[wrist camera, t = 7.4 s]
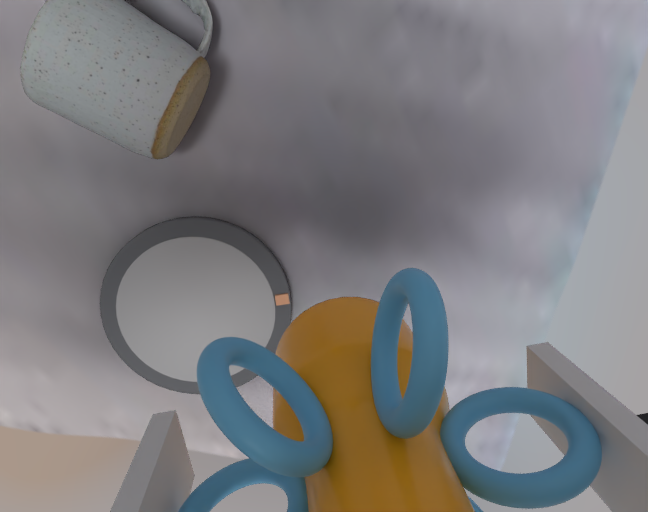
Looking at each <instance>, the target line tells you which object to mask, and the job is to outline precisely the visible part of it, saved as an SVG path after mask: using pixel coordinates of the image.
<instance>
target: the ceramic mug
mask: <svg viewBox="0 0 648 512" xmlns="http://www.w3.org/2000/svg"><path fill="white" fill-rule="evenodd" d="M125 1H126V0H47V1H46V2H45V4H44V5H43V7H42V8H41V10H40V11H39V13H38V15H37V17H36V19H35V21H34V23H33V24H32V27H31V29H30V31H29V34H28V36H27V41H26V44H25V48H24V51H23V55H22V61H21V67H20V69H21V80H22V85H23V88H24V91H25V93H26V95H27V96H28V97H29V98H30V99H31V100H32V101H33V102H35V103H36V104H38V105H40V106H42V107H44V108H46V109H48V110H51V111H53V112H55V113H57V114H59V115H61V116H63V117H65V118H67V119H69V120H71V121H72V122H74V123H76V124H78V125H80V126H82V127H84V128H86V129H88V130H90V131H93V132H95V133H97V134H99V135H101V136H103V137H106V138H108V139H109V140H111V141H113V142H115V143H117V144H119V145H121V146H122V147H124V148H126V149H128V150H130V151H133V152H135V153H138V154H141V155H144V156H147V157H150V158H153V159H162V158H165V157H168V156H169V155H170V154H172V153H173V152H174V150H175V149H176V148H177V146H178V145H179V144H180V142H181V141H182V139H183V137H184V136H185V134H186V132H187V131H188V129H189V127H190V125H191V124H192V122H193V120H194V118H195V116H196V114H197V112H198V110H199V107H200V105H201V103H202V100H203V98H204V96H205V93H206V90H207V87H208V84H209V80H210V68H209V65H208V62H207V61H206V60H205V59H204V57H205V56H206V55H207V52H208V49H209V46H210V42H211V38H212V30H213V20H212V15H211V11H210V8H209V6H208V4H207V1H206V0H182V1H183V2H184V3H186V4H187V5H188V6H189V7H190V8H191V9H192V11H193V13H195V14H197V15H199V16H201V18H202V20H203V22H204V28H205V33H204V36H203V39H202V42H201V43H200V45H199V48H198V49H197V50H195V49H194V48H193V47H192V46H191V45H189V44H188V43H187V42H185V41H184V40H183V39H181V38H179V37H178V36H176V35H175V34H173V33H171V32H170V31H168V30H167V29H165V28H163V27H162V26H160V25H159V24H157V23H155V22H154V21H153V20H151V19H150V18H148V17H147V16H146V15H144V14H143V13H141V12H140V11H139V10H137V9H136V8H134V7H133V6H131V5H130V4H128V3H127V2H125Z"/></svg>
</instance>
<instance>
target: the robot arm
mask: <svg viewBox="0 0 648 512" xmlns="http://www.w3.org/2000/svg"><path fill="white" fill-rule="evenodd" d="M527 387H528V389H534V390H539V391H542V392H546V393H549V394H552V395H554V396H557V397H559V398H561V399H563V400H565V401H566V402H568V403H570V404H571V405H573V406H574V407H576V408H577V409H578V410H579V411H580V412H582V413H583V414H584V415H585V416H586V418H587V419H588V420H589V421H590V422H591V424H592V425H593V427H594V428H595V430H596V432H597V434H598V436H599V439H600V443H601V448H602V461H601V466H600V469H599V472H598V474H597V476H596V477H595V479H594V481H593V482H592V483H591V484H590V486H591V487H592V488H593V490H594V491H595V492H596V493H597V494H598V495H599V497H600V498H601V499H602V500H603V501H604V503H605V504H606V505H607V506H608V507H609V508H610V510H611V511H612V512H648V413H646V414H640V415H635V414H634V413H633V412H632V411H630V410H629V409H628V408H627V407H626V406H624V405H623V404H622V403H621V402H620V401H618V400H617V399H616V398H615V397H613V396H612V395H611V394H610V393H609V392H607V391H606V390H605V389H604V388H603V387H601V386H600V385H599V384H598V383H597V382H595V381H594V380H593V379H592V378H591V377H589V376H588V375H587V374H586V373H584V372H583V371H582V370H581V369H580V368H578V367H577V366H576V365H575V364H574V363H572V362H571V361H570V360H569V359H568V358H566V357H565V356H564V355H563V354H561V353H560V352H559V351H558V350H557V349H555V348H554V347H553V346H551V344H549V343H548V342H546V343H541V344H535V345H530V346H527ZM531 417H532V418H533V419H534V420H535V421H536V422H537V424H538V425H539V426H540V427H541V428H542V429H543V431H544V432H545V433H546V434H547V435H548V437H549V438H550V439H551V440H552V441H553V442H554V444H555V445H556V446H557V447H558V448H559V450H560V451H561V452H562V453H563V454H564V455H566V453H567V450H568V441H567V438H566V436H565V435H564V433H563V432H562V431H561V430H560V429H559V428H558V427H557V426H555V425H554V424H552V423H551V422H549V421H547V420H545V419H543V418H540V417H537V416H534V415H531ZM193 480H194V472H193V469H192V465H191V462H190V458H189V455H188V451H187V448H186V444H185V441H184V437H183V434H182V430H181V427H180V424H179V420H178V417H177V413H176V410H174V411H168V412H163V413H157V414H153V415H152V418H151V420H150V422H149V424H148V427H147V429H146V431H145V434H144V436H143V438H142V440H141V443H140V445H139V447H138V450H137V452H136V454H135V456H134V459H133V461H132V463H131V465H130V468H129V470H128V472H127V474H126V477H125V479H124V481H123V484H122V486H121V488H120V490H119V493H118V495H117V497H116V499H115V502H114V504H113V506H112V508H111V511H110V512H178V511H179V509H180V508H181V506H182V505H183V503H184V502H185V500H186V499H187V498H188V497H189V496H190V492H191V488H192V484H193Z"/></svg>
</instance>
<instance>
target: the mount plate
mask: <svg viewBox="0 0 648 512" xmlns="http://www.w3.org/2000/svg"><path fill="white" fill-rule="evenodd" d="M100 311H101V318H102V323H103V327H104V330H105V332H106V335H107V337H108V339H109V341H110V343H111V345H112V347H113V348H114V350H115V351H116V352H117V354H118V355H119V357H120V358H121V359H122V360H123V361H124V362H125V363H126V364H127V365H128V366H129V367H130V368H131V369H132V370H134V371H135V372H136V373H137V374H139V375H140V376H142V377H143V378H145V379H146V380H148V381H150V382H152V383H154V384H156V385H158V386H161V387H164V388H166V389H169V390H173V391H177V392H182V393H190V394H200V391H199V387H198V383H197V364H198V360H199V357H200V355H201V353H202V351H203V350H204V349H205V347H206V346H207V345H209V344H210V343H211V342H213V341H215V340H217V339H219V338H223V337H238V338H243V339H247V340H250V341H252V342H255V343H257V344H259V345H261V346H263V347H265V348H266V349H268V350H270V351H271V352H273V353H274V354H276V349H277V346H278V344H279V341H280V339H281V337H282V335H283V333H284V332H285V330H286V329H287V328H288V326H289V325H290V321H291V296H290V290H289V285H288V281H287V279H286V276H285V273H284V271H283V269H282V267H281V265H280V264H279V262H278V260H277V259H276V257H275V256H274V255H273V253H272V252H271V251H270V250H269V249H268V248H267V247H266V246H265V245H264V244H263V243H262V242H261V241H260V240H259V239H257V238H256V237H255V236H254V235H252V234H251V233H249V232H247V231H246V230H244V229H242V228H240V227H238V226H236V225H234V224H231V223H229V222H225V221H222V220H219V219H213V218H207V217H182V218H176V219H172V220H167V221H165V222H162V223H159V224H156V225H154V226H152V227H150V228H148V229H146V230H145V231H143V232H142V233H140V234H139V235H138V236H136V237H135V238H133V239H132V240H131V241H129V242H128V243H127V244H126V245H125V246H124V247H123V248H122V249H121V250H120V251H119V253H118V254H117V255H116V256H115V258H114V259H113V261H112V262H111V264H110V266H109V268H108V270H107V272H106V275H105V277H104V280H103V284H102V288H101V295H100ZM229 371H230V375H231V378H232V381H233V383H234V385H235V387H238V386H240V385H242V384H245V383H247V382H249V381H250V380H252V379H253V378H255V377H256V376H258V375H257V374H255V373H254V372H252V371H250V370H248V369H246V368H243V367H240V366H235V365H230V366H229Z"/></svg>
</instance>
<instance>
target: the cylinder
mask: <svg viewBox="0 0 648 512" xmlns="http://www.w3.org/2000/svg"><path fill="white" fill-rule="evenodd" d="M408 303H409V305H410V310H411V316H412V326H413V332H412V331H411V329H410V328H409V326H408V325H407V324H406V322H405V321H404V320H403V316H404V313H405V310H406V308H407V305H408ZM447 364H448V325H447V317H446V312H445V307H444V303H443V299H442V296H441V294H440V291H439V289H438V287H437V285H436V283H435V282H434V280H433V279H432V278H431V277H430V276H429V275H428V274H427V273H425V272H424V271H422V270H420V269H416V268H407V269H404V270H401V271H399V272H398V273H397V274H395V275H394V276H393V277H392V279H391V280H390V281H389V283H388V284H387V286H386V288H385V290H384V292H383V295H382V297H381V300H380V303H379V302H377V301H374V300H371V299H366V298H361V297H340V298H334V299H329V300H326V301H324V302H321V303H318V304H315V305H314V306H312V307H311V308H309V309H307V310H306V311H304V312H303V313H302V314H300V315H299V316H298V317H297V318H296V319H295V320H294V321H293V322H292V323H291V324H290V325H289V326H288V328H287V329H286V330H285V332H284V333H283V335H282V337H281V339H280V341H279V344H278V346H277V349H276V354H274V353H273V352H271V351H270V350H268V349H266V348H265V347H263V346H261V345H259V344H257V343H255V342H252V341H250V340H247V339H243V338H238V337H223V338H219V339H217V340H215V341H213V342H211V343H210V344H209V345H207V346H206V347H205V349H204V350H203V351H202V353H201V355H200V357H199V360H198V364H197V383H198V387H199V391H200V394H201V397H202V400H203V402H204V404H205V406H206V408H207V410H208V412H209V414H210V415H211V417H212V419H213V420H214V422H215V423H216V424H217V426H218V427H219V429H220V430H221V431H222V432H223V433H224V435H225V436H226V437H227V438H228V439H229V440H230V441H231V442H232V443H233V444H234V445H235V446H236V447H237V448H238V449H239V450H240V451H241V452H242V453H244V454H245V455H246V456H247V457H249V459H245V460H242V461H239V462H236V463H233V464H231V465H229V466H227V467H225V468H223V469H221V470H219V471H218V472H216V473H215V474H213V475H212V476H210V477H209V478H208V479H206V480H205V481H204V482H203V483H202V484H201V485H199V486H198V487H197V488H196V489H195V490H194V491H193V492H192V493H191V494H190V496H189V497H188V498H187V499H186V500H185V502H184V503H183V505H182V506H181V508H180V509H179V511H178V512H210V511H211V509H212V508H213V507H214V506H215V505H216V504H217V503H218V502H220V501H221V500H222V499H223V498H225V497H226V496H228V495H229V494H231V493H233V492H234V491H236V490H238V489H241V488H243V487H246V486H249V485H253V484H260V483H267V484H273V485H276V486H278V487H280V488H282V489H283V490H284V491H285V493H286V495H287V497H288V509H287V512H483V511H482V510H481V509H480V508H479V507H478V505H477V504H476V503H475V502H474V501H473V500H471V498H469V497H468V496H467V494H466V492H465V490H464V488H465V489H467V490H468V491H470V492H471V493H473V494H475V495H476V496H478V497H480V498H483V499H485V500H487V501H490V502H493V503H496V504H499V505H503V506H508V507H514V508H528V509H529V508H544V507H549V506H554V505H557V504H561V503H563V502H566V501H568V500H570V499H572V498H574V497H576V496H577V495H579V494H580V493H582V492H583V491H584V490H585V489H587V487H589V485H590V484H591V483H592V482H593V481H594V479H595V477H596V476H597V474H598V472H599V469H600V466H601V461H602V448H601V443H600V439H599V436H598V434H597V432H596V430H595V428H594V427H593V425H592V424H591V422H590V421H589V420H588V419H587V418H586V416H585V415H584V414H583V413H582V412H580V411H579V410H578V409H577V408H576V407H574V406H573V405H571V404H570V403H568V402H566V401H565V400H563V399H561V398H559V397H557V396H554V395H552V394H549V393H546V392H542V391H539V390H534V389H528V388H519V387H504V388H495V389H489V390H485V391H481V392H478V393H476V394H473V395H471V396H469V397H467V398H465V399H463V400H462V401H460V402H459V403H457V404H456V405H455V406H454V407H453V408H452V409H451V410H450V411H449V403H448V397H447V393H446V389H445V386H444V385H445V379H446V373H447ZM230 365H235V366H240V367H243V368H246V369H248V370H250V371H252V372H254V373H255V374H257V375H259V376H260V377H262V378H263V379H264V380H266V381H267V382H268V383H269V384H270V385H272V386H273V428H271V427H270V426H269V425H267V424H266V423H265V422H264V421H263V420H262V419H261V418H259V417H258V416H257V415H256V414H255V413H254V411H253V410H252V409H251V408H250V407H249V406H248V405H247V403H246V402H245V401H244V399H243V398H242V397H241V395H240V394H239V392H238V390H237V389H236V387H235V385H234V383H233V381H232V378H231V375H230V371H229V366H230ZM501 413H524V414H530V415H534V416H537V417H540V418H543V419H545V420H547V421H549V422H551V423H552V424H554V425H555V426H557V427H558V428H559V429H560V430H561V431H562V432H563V433H564V435H565V436H566V438H567V441H568V450H567V453H566V455H565V456H564V458H563V459H562V460H561V461H560V462H558V463H557V464H556V465H554V466H552V467H550V468H548V469H546V470H543V471H539V472H534V473H527V474H514V473H506V472H501V471H497V470H494V469H491V468H489V467H487V466H485V465H483V464H481V463H479V462H478V461H477V460H475V459H474V458H473V457H472V456H471V455H470V454H469V452H468V451H467V449H466V446H465V437H466V434H467V432H468V431H469V429H470V428H471V427H472V426H473V425H474V424H475V423H477V422H478V421H480V420H482V419H484V418H486V417H489V416H492V415H496V414H501ZM463 487H464V488H463Z"/></svg>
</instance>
